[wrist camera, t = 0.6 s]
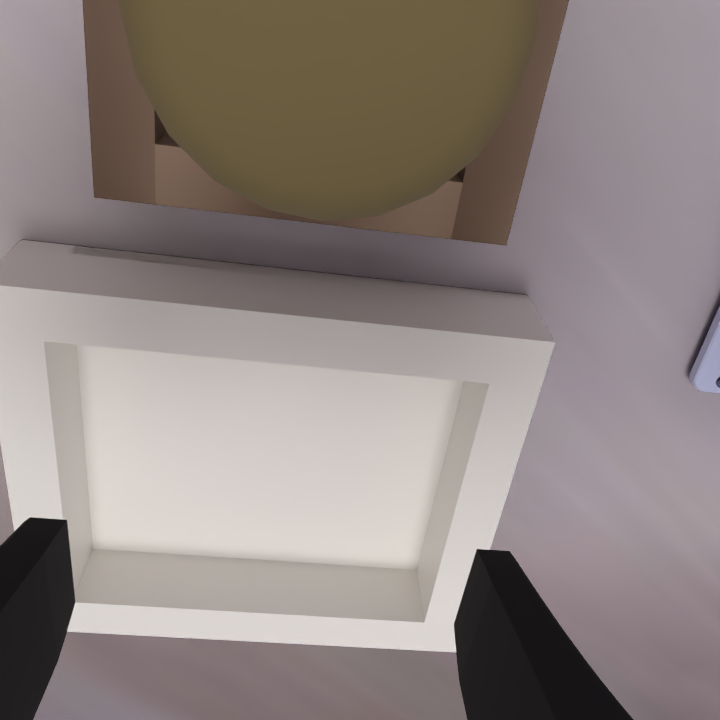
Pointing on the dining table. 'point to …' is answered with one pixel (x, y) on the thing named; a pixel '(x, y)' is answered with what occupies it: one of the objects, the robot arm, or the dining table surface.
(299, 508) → the cream tray
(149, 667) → the dining table surface
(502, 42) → the cork
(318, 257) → the dining table surface
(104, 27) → the walnut socket
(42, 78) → the dining table surface
